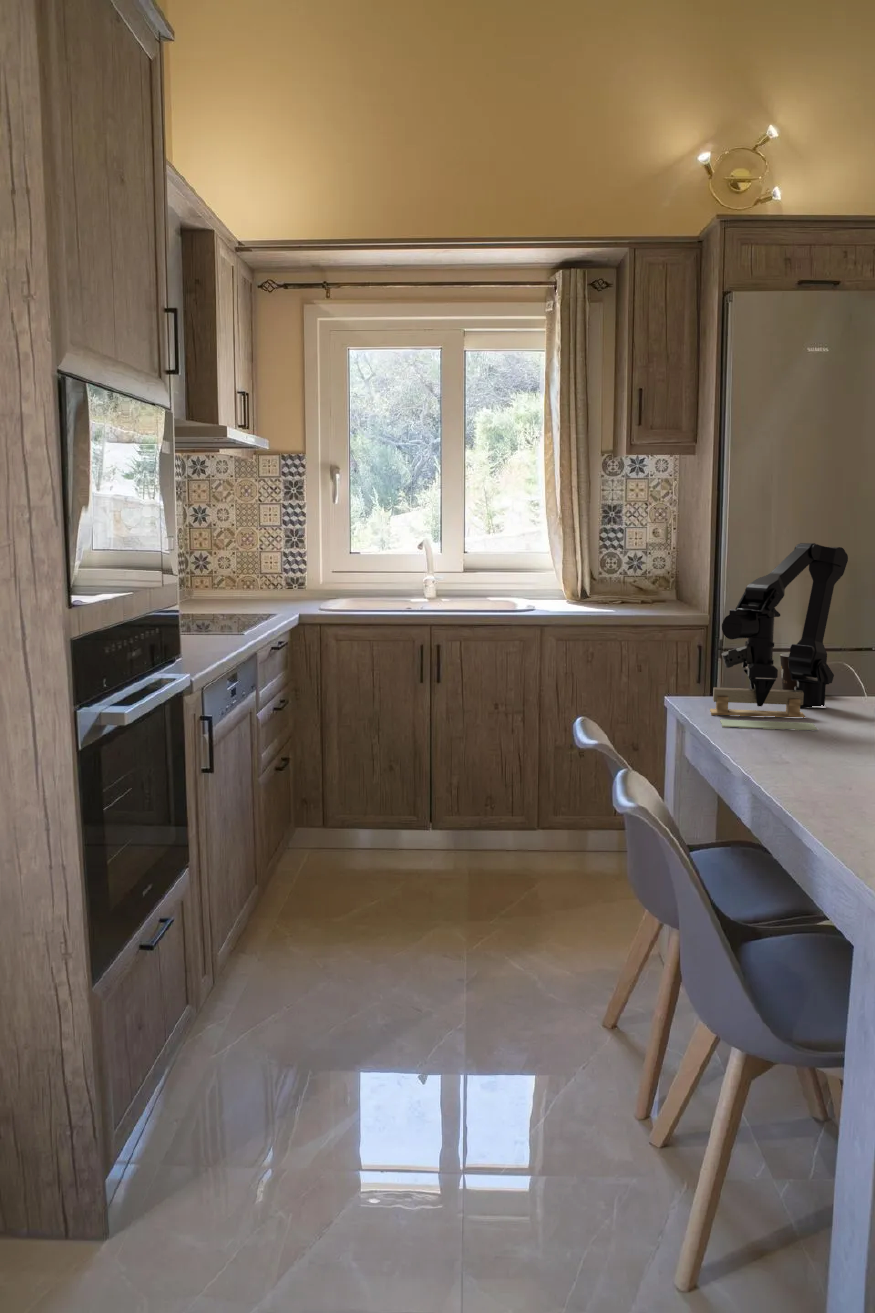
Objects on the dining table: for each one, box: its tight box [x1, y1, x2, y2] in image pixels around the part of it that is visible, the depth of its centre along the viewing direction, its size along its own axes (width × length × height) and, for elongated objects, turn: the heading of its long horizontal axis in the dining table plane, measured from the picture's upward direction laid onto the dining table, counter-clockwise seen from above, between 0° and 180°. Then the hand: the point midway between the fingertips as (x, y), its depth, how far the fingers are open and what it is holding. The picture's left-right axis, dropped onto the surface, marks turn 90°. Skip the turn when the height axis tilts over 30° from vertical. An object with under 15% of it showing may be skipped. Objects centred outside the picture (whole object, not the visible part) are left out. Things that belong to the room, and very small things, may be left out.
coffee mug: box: [779, 652, 797, 690], centre depth 268 cm, size 12×9×10 cm
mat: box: [719, 719, 819, 731], centre depth 223 cm, size 20×7×1 cm, turn 78°
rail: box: [712, 686, 804, 706], centre depth 236 cm, size 20×3×3 cm, turn 78°
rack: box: [709, 696, 807, 718], centre depth 236 cm, size 21×6×4 cm, turn 78°
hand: (757, 702), depth 236 cm, fingers open, 9 cm apart
